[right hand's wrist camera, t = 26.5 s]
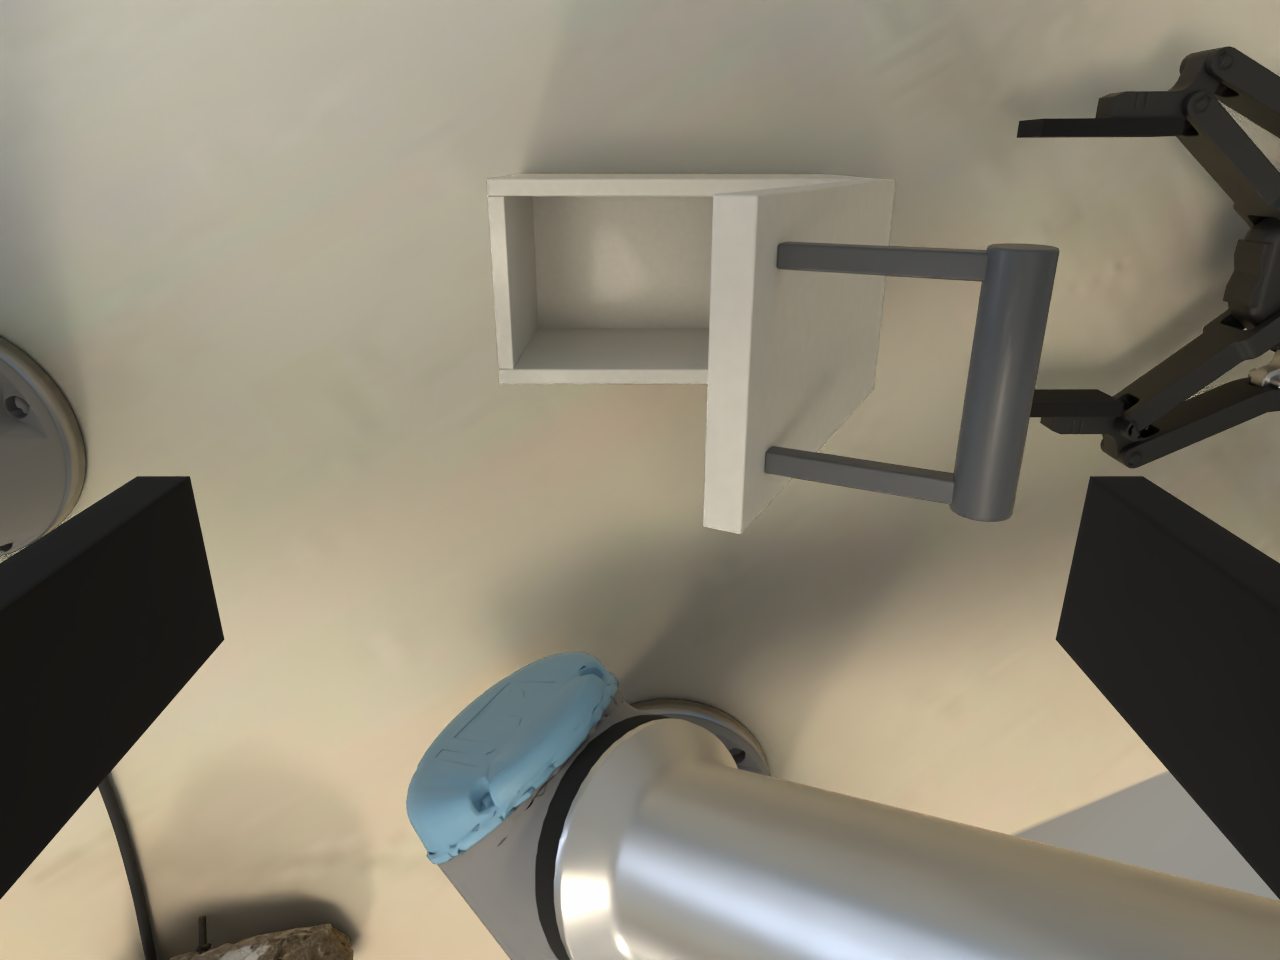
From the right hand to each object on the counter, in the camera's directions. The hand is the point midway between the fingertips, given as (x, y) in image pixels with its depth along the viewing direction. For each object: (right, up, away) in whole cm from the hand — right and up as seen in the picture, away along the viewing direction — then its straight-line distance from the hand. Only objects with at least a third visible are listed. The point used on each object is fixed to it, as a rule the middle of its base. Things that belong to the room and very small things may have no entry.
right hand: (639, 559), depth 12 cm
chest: (+2, +14, +36) cm, 39 cm away
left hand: (+19, +12, +30) cm, 37 cm away
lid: (+6, +7, +18) cm, 20 cm away
